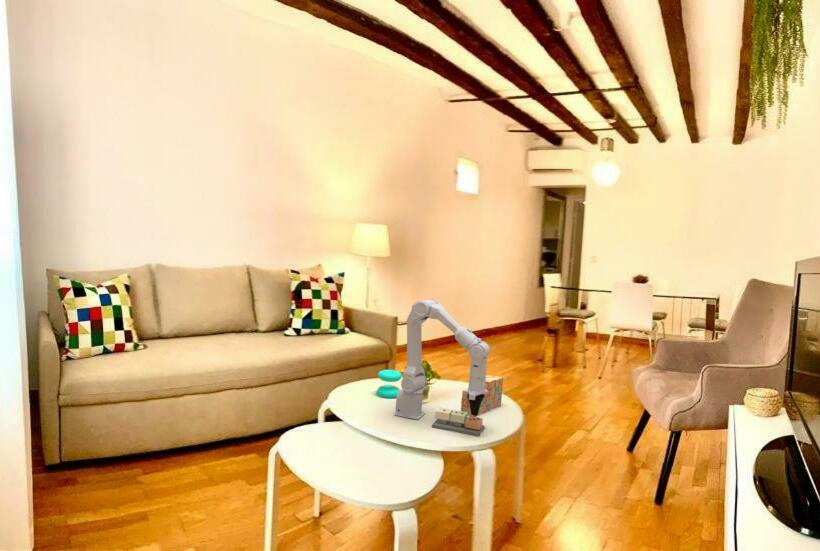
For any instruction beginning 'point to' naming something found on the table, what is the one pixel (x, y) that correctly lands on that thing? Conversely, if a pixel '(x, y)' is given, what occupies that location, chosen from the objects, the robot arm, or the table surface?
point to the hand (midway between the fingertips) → (474, 414)
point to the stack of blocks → (486, 396)
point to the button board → (456, 427)
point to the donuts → (389, 390)
